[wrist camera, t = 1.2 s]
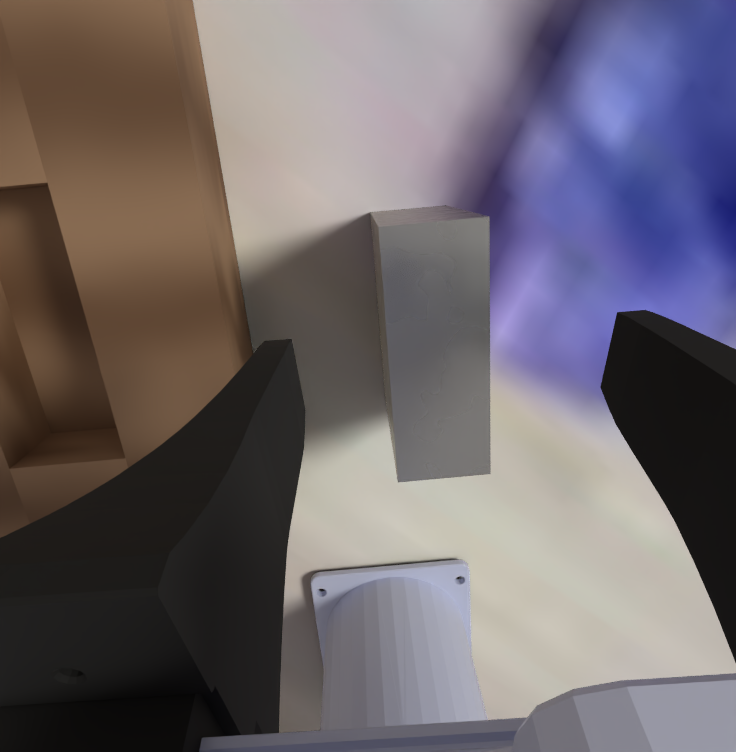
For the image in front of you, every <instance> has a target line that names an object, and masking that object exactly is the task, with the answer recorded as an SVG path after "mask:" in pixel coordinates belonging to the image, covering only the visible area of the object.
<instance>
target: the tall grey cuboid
mask: <svg viewBox="0 0 736 752" xmlns="http://www.w3.org/2000/svg"><path fill="white" fill-rule="evenodd" d="M370 218H371V230H372V243H373V255H374V267H375V280H376V292H377V304H378V317H379V329H380V341H381V354H382V366H383V378H384V391H385V401H386V407H387V414H388V421H389V427H390V434H391V440H392V447H393V453H394V460H395V466H396V473H397V479H398V482H406V481H417V480H428V479H440V478H451V477H462V476H473V475H484V474H490V265H489V217H488V216H485V215H481V214H477V213H473V212H469V211H466V210H462V209H458V208H454V207H450V206H446V205H444V206H433V207H422V208H412V209H401V210H390V211H379V212H370Z"/></svg>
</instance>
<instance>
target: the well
mask: <svg viewBox="0 0 736 752" xmlns="http://www.w3.org/2000/svg"><path fill="white" fill-rule="evenodd" d="M252 355H253V350H252V344H251V339H250V333H249V327H248V321H247V315H246V310H245V304H244V298H243V292H242V286H241V280H240V275H239V269H238V263H237V257H236V251H235V246H234V240H233V234H232V228H231V222H230V216H229V211H228V205H227V199H226V193H225V187H224V181H223V176H222V170H221V164H220V158H219V152H218V147H217V141H216V135H215V129H214V123H213V117H212V112H211V106H210V100H209V94H208V88H207V83H206V77H205V71H204V65H203V59H202V53H201V48H200V42H199V36H198V30H197V24H196V19H195V13H194V7H193V1H192V0H0V538H1V537H3V536H6V535H8V534H10V533H12V532H14V531H16V530H18V529H20V528H22V527H24V526H26V525H28V524H30V523H32V522H34V521H36V520H38V519H41V518H43V517H45V516H47V515H49V514H51V513H53V512H55V511H56V510H58V509H60V508H62V507H64V506H66V505H68V504H70V503H71V502H73V501H75V500H77V499H78V498H80V497H82V496H84V495H86V494H87V493H89V492H91V491H93V490H94V489H96V488H98V487H99V486H101V485H102V484H104V483H106V482H107V481H109V480H111V479H112V478H114V477H116V476H117V475H119V474H120V473H121V472H123V471H124V470H126V469H127V468H129V467H130V466H132V465H133V464H135V463H136V462H137V461H139V460H140V459H142V458H143V457H145V456H146V455H148V454H149V453H151V452H152V451H153V450H155V449H156V448H157V447H159V446H160V445H161V444H163V443H164V442H165V441H166V440H168V439H169V438H170V437H171V436H173V435H174V434H175V433H176V432H178V431H179V430H180V429H181V428H182V427H183V426H185V425H186V424H187V423H188V422H189V421H190V420H191V419H192V418H194V417H195V416H196V415H197V414H198V413H199V412H200V411H201V410H202V409H203V408H204V407H205V406H206V405H207V404H208V403H209V402H210V401H211V400H212V399H213V398H214V397H215V396H216V395H217V394H218V393H219V392H220V391H221V390H222V389H223V388H224V387H225V385H226V384H227V383H228V382H229V381H230V380H231V379H232V378H233V377H234V376H235V374H236V373H237V372H238V371H239V370H240V369H241V368H242V366H243V365H244V364H245V363H246V362H247V361H248V359H249V358H250V357H251V356H252Z"/></svg>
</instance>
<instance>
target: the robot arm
mask: <svg viewBox="0 0 736 752" xmlns="http://www.w3.org/2000/svg"><path fill="white" fill-rule="evenodd" d="M601 390H602V392H603V395H604V397H605V400H606V402H607V405H608V407H609V410H610V412H611V414H612V416H613V419H614V421H615V423H616V425H617V427H618V428H619V430H620V432H621V434H622V435H623V437H624V438H625V440H626V442H627V443H628V445H629V447H630V448H631V450H632V452H633V453H634V455H635V456H636V458H637V460H638V461H639V463H640V464H641V466H642V468H643V469H644V471H645V472H646V474H647V476H648V477H649V479H650V480H651V482H652V484H653V485H654V487H655V489H656V490H657V492H658V493H659V495H660V497H661V498H662V500H663V501H664V503H665V505H666V506H667V508H668V510H669V512H670V514H671V515H672V517H673V519H674V521H675V523H676V525H677V527H678V529H679V531H680V533H681V535H682V537H683V539H684V541H685V544H686V546H687V548H688V550H689V552H690V554H691V556H692V558H693V560H694V563H695V565H696V567H697V569H698V572H699V574H700V576H701V579H702V581H703V583H704V586H705V588H706V590H707V592H708V595H709V597H710V599H711V602H712V604H713V606H714V609H715V611H716V614H717V616H718V619H719V621H720V624H721V626H722V629H723V632H724V634H725V637H726V639H727V642H728V644H729V647H730V649H731V652H732V654H733V657H734V659H735V662H736V349H734V348H731V347H729V346H727V345H725V344H723V343H721V342H718V341H716V340H714V339H712V338H710V337H708V336H705V335H703V334H701V333H699V332H697V331H695V330H692V329H690V328H688V327H686V326H684V325H682V324H679V323H677V322H675V321H673V320H670V319H668V318H666V317H663V316H661V315H658V314H656V313H653V312H650V311H647V310H640V311H628V312H617V316H616V320H615V325H614V329H613V334H612V338H611V343H610V347H609V352H608V356H607V361H606V365H605V370H604V374H603V379H602V383H601ZM304 433H305V406H304V401H303V396H302V391H301V386H300V381H299V375H298V370H297V365H296V360H295V355H294V349H293V344H292V339H286V340H274V341H264V342H263V343H262V345H261V346H260V347H259V348H258V349H257V350H256V351H255V353H254V354H253V355H252V356H251V357H250V358H249V359H248V361H247V362H246V363H245V364H244V365H243V366H242V368H241V369H240V370H239V371H238V372H237V373H236V374H235V376H234V377H233V378H232V379H231V380H230V381H229V382H228V383H227V384H226V385H225V387H224V388H223V389H222V390H221V391H220V392H219V393H218V394H217V395H216V396H215V397H214V398H213V399H212V400H211V401H210V402H209V403H208V404H207V405H206V406H205V407H204V408H203V409H202V410H201V411H200V412H199V413H198V414H197V415H196V416H195V417H194V418H192V419H191V420H190V421H189V422H188V423H187V424H186V425H185V426H183V427H182V428H181V429H180V430H179V431H178V432H176V433H175V434H174V435H173V436H171V437H170V438H169V439H168V440H166V441H165V442H164V443H163V444H161V445H160V446H159V447H157V448H156V449H155V450H153V451H152V452H151V453H149V454H148V455H146V456H145V457H143V458H142V459H140V460H139V461H137V462H136V463H135V464H133V465H132V466H130V467H129V468H127V469H126V470H124V471H123V472H121V473H120V474H119V475H117V476H116V477H114V478H112V479H111V480H109V481H107V482H106V483H104V484H102V485H101V486H99V487H98V488H96V489H94V490H93V491H91V492H89V493H87V494H86V495H84V496H82V497H80V498H78V499H77V500H75V501H73V502H71V503H70V504H68V505H66V506H64V507H62V508H60V509H58V510H56V511H55V512H53V513H51V514H49V515H47V516H45V517H43V518H41V519H38V520H36V521H34V522H32V523H30V524H28V525H26V526H24V527H22V528H20V529H18V530H16V531H14V532H12V533H10V534H8V535H6V536H3V537H1V538H0V752H736V673H735V674H719V675H703V676H687V677H672V678H656V679H640V680H624V681H616V682H611V683H605V684H599V685H594V686H588V687H583V688H577V689H573V690H570V691H568V692H566V693H564V694H562V695H559V696H557V697H555V698H553V699H551V700H548V701H546V702H544V703H542V704H540V705H538V706H536V708H535V709H534V710H533V711H532V712H531V714H530V715H529V716H528V717H527V718H513V719H497V720H488V718H487V714H486V710H485V706H484V702H483V698H482V694H481V690H480V686H479V683H478V679H477V675H476V671H475V667H474V663H473V659H472V655H471V614H470V571H469V567H468V564H467V563H466V562H465V561H463V560H448V561H437V562H426V563H415V564H404V565H393V566H381V567H370V568H359V569H348V570H337V571H326V572H318V573H315V574H314V575H313V576H312V577H311V592H312V598H313V604H314V611H315V617H316V623H317V630H318V636H319V643H320V649H321V655H322V662H323V668H324V674H323V692H322V709H321V726H320V730H319V731H302V732H286V733H279V702H280V670H281V644H282V623H283V604H284V586H285V571H286V557H287V546H288V538H289V530H290V524H291V519H292V513H293V507H294V502H295V496H296V491H297V485H298V479H299V473H300V468H301V462H302V456H303V450H304ZM459 576H463V577H462V578H460V579H456V578H457V577H459ZM318 589H325V591H319V590H318Z"/></svg>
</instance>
